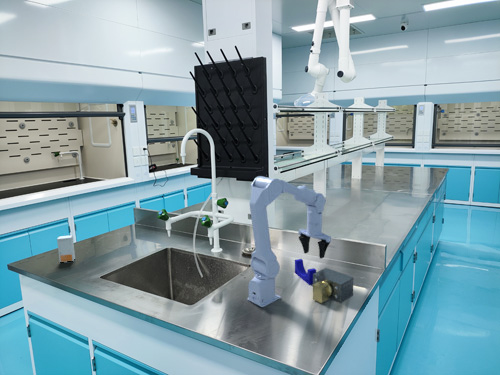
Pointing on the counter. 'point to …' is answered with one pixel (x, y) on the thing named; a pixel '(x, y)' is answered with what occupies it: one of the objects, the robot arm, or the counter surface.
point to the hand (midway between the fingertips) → (314, 255)
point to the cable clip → (304, 272)
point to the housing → (336, 283)
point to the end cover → (322, 291)
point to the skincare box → (66, 248)
